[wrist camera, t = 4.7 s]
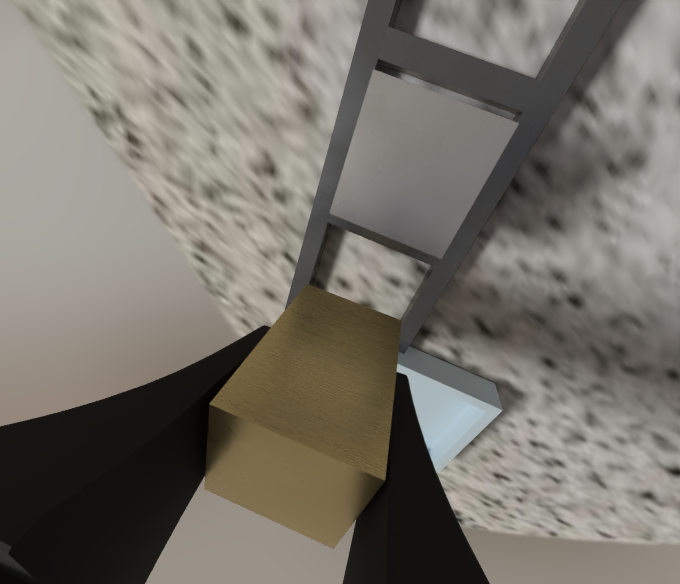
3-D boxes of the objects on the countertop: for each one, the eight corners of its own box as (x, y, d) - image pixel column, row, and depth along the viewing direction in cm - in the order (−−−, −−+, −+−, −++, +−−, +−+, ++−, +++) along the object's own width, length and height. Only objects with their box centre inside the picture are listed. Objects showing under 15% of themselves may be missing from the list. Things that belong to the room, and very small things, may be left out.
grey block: (478, 132, 12) (519, 123, 7) (434, 218, 14) (441, 259, 9) (393, 100, 12) (373, 69, 7) (362, 189, 15) (329, 213, 9)
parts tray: (494, 383, 18) (502, 410, 16) (432, 449, 22) (433, 477, 20) (374, 331, 18) (369, 351, 16) (337, 405, 23) (329, 428, 21)
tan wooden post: (402, 320, 11) (385, 480, 6) (368, 386, 13) (333, 548, 8) (306, 283, 11) (208, 404, 6) (288, 354, 13) (204, 488, 8)
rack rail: (742, -214, 7) (783, -260, 7) (397, 355, 19) (396, 365, 18) (456, -291, 8) (460, -343, 7) (289, 308, 19) (283, 315, 18)
